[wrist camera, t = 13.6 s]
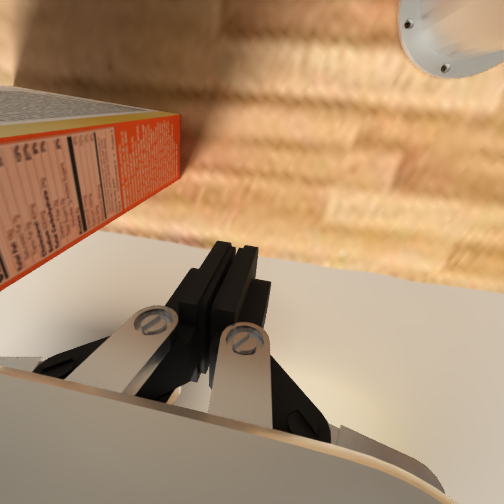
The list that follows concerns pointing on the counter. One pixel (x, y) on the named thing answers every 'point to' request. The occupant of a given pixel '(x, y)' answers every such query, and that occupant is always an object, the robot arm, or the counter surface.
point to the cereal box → (74, 170)
